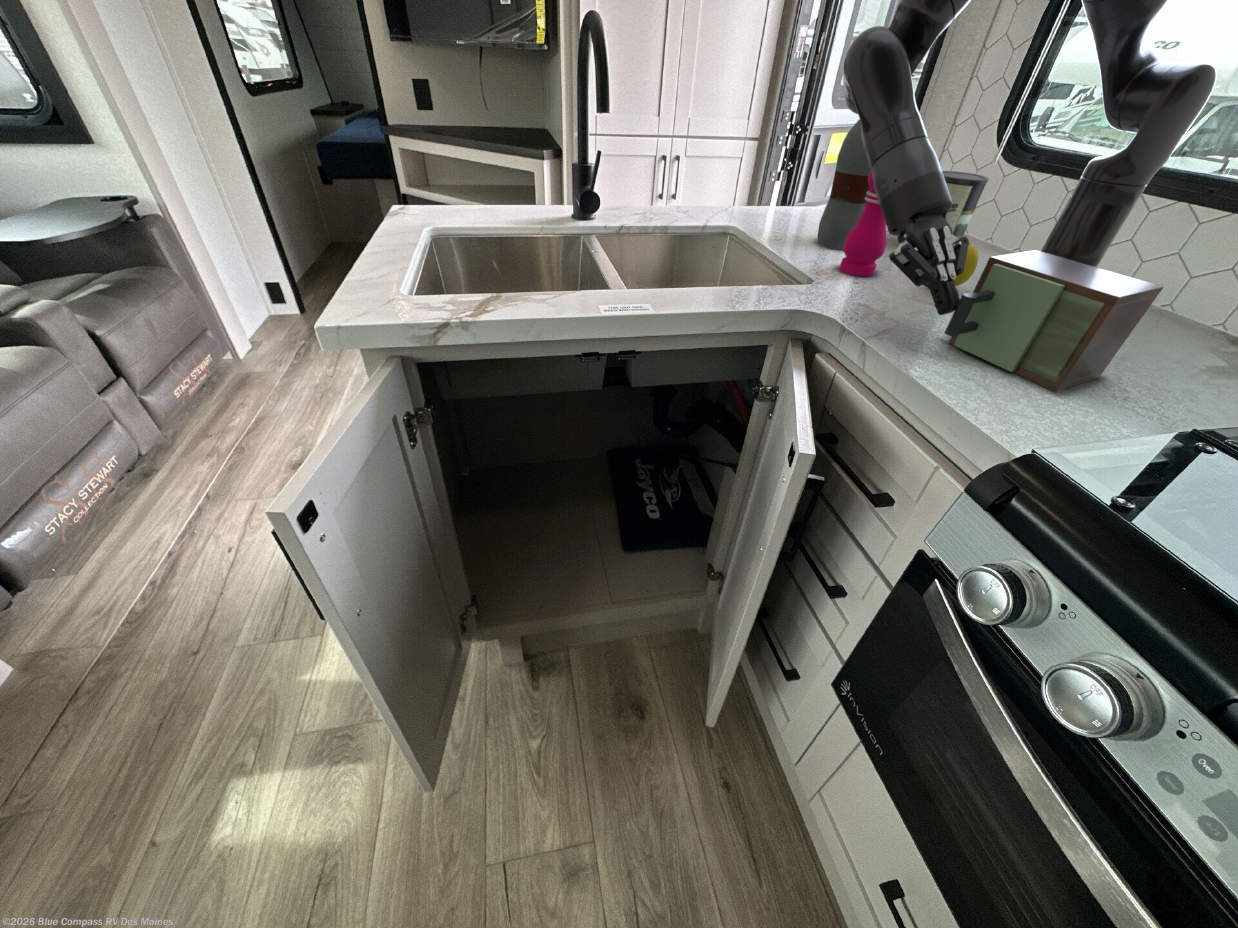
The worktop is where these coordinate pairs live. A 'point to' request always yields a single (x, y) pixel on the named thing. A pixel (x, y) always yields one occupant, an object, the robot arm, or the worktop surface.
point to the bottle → (846, 192)
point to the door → (1003, 315)
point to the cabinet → (1077, 318)
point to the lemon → (968, 266)
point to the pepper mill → (865, 238)
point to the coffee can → (963, 198)
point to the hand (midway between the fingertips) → (950, 311)
